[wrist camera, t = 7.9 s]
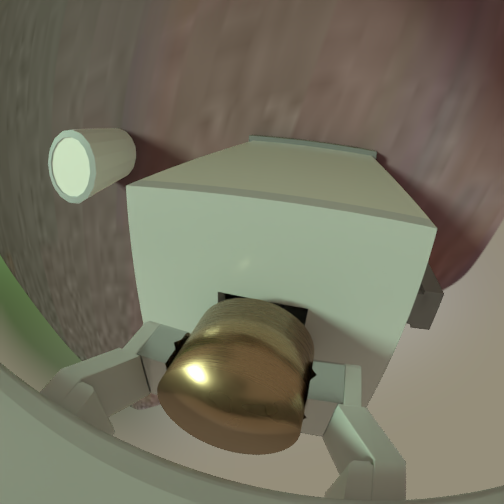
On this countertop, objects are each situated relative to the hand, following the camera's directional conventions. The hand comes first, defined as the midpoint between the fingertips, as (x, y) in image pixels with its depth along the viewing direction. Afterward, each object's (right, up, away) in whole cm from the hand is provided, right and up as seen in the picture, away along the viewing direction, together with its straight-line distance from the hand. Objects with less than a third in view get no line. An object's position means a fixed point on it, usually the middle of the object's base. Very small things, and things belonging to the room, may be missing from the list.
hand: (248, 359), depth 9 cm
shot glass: (-14, +14, +20) cm, 28 cm away
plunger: (+5, +7, +15) cm, 18 cm away
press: (+6, +8, +16) cm, 19 cm away
